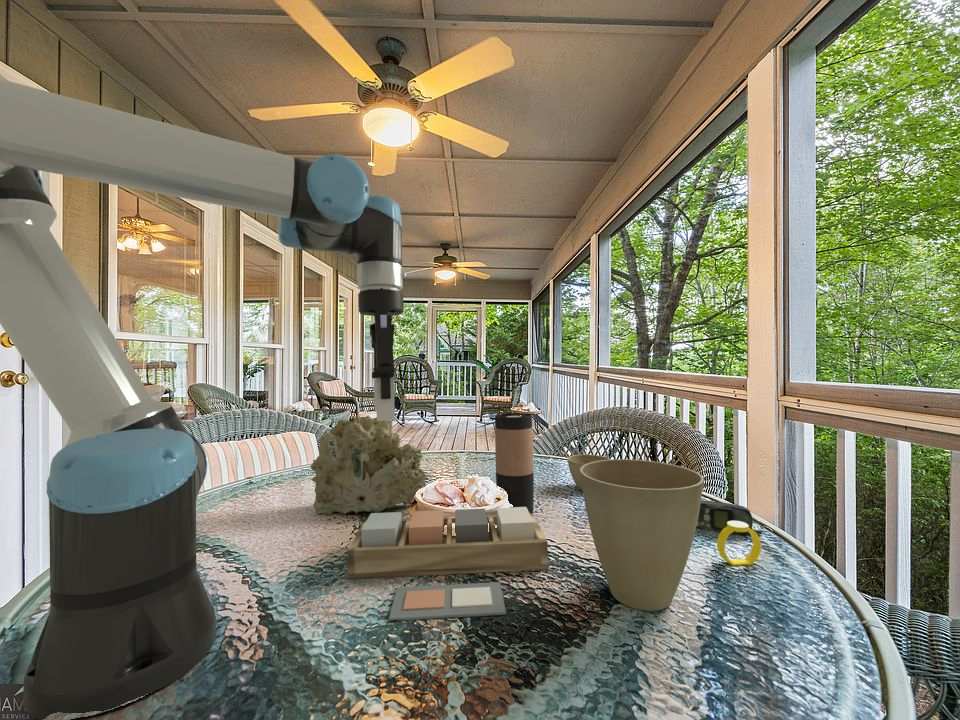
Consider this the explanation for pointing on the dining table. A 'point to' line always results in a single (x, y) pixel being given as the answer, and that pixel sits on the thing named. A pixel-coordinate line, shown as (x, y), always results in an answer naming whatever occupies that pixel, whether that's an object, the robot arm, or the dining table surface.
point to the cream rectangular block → (515, 524)
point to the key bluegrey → (382, 529)
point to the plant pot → (642, 526)
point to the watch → (739, 527)
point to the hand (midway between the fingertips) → (383, 415)
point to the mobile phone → (722, 516)
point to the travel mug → (515, 458)
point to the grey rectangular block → (471, 526)
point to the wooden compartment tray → (447, 555)
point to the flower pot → (578, 461)
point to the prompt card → (447, 601)
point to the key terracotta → (426, 527)
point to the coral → (365, 468)
